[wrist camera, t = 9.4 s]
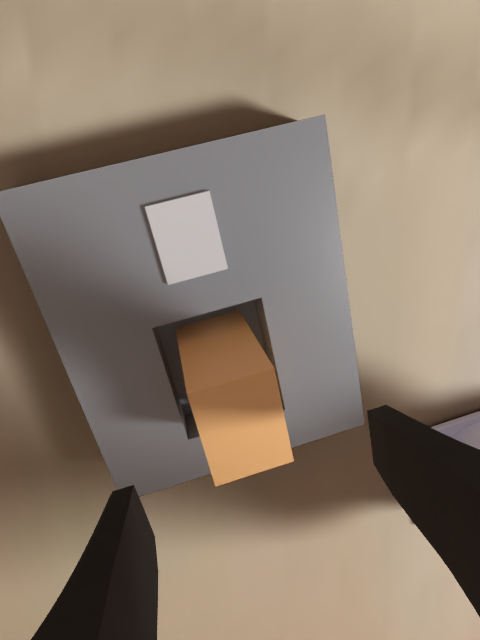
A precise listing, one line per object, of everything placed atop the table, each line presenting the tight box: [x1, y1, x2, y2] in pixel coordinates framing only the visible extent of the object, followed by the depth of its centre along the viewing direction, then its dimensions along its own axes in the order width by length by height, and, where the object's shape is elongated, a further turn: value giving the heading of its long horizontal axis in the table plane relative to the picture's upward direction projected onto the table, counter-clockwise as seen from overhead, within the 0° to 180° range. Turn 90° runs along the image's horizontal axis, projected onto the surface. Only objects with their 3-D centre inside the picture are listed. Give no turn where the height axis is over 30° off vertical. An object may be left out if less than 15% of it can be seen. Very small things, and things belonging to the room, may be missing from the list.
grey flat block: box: [0, 114, 365, 497], centre depth 19 cm, size 12×14×3 cm
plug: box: [175, 310, 294, 487], centre depth 18 cm, size 3×4×6 cm
